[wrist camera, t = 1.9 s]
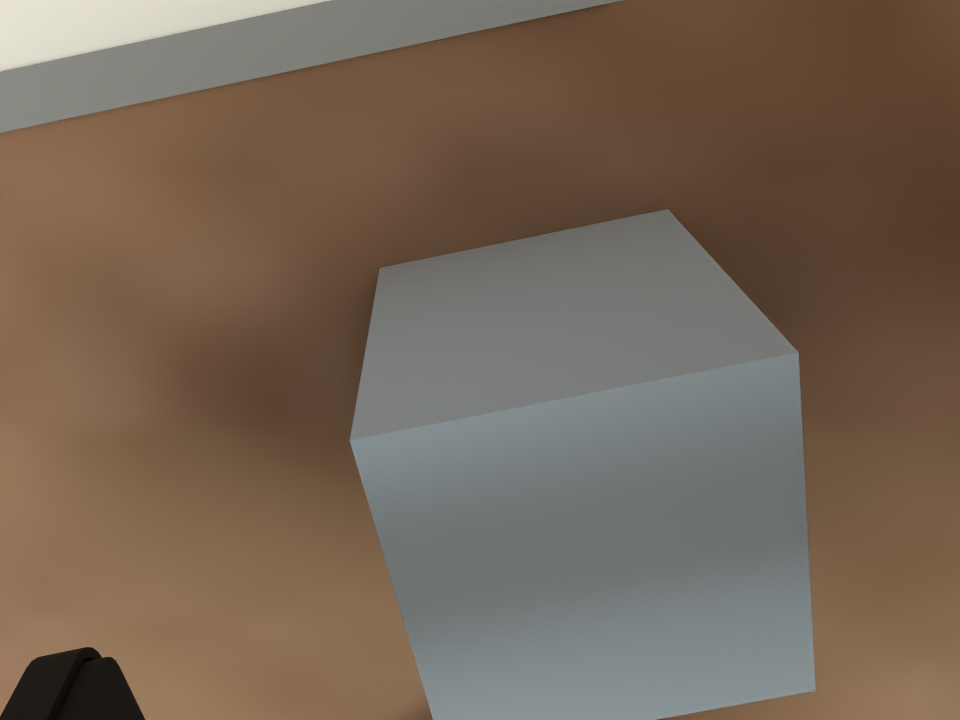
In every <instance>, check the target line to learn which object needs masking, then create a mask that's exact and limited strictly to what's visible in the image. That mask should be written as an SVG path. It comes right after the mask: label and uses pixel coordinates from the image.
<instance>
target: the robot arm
mask: <svg viewBox="0 0 960 720" xmlns="http://www.w3.org/2000/svg"><path fill="white" fill-rule="evenodd" d="M0 720H145V718H144V716H143V714H142V712H141V710H140V708H139V706H138V704H137V702H136V700H135V698H134V696H133V694H132V692H131V690H130V687H129V685H128V683H127V681H126V679H125V677H124V675H123V673H122V671H121V669H120V667H119V665H118V664H117V662H116V660H114V659H113V658H112V657H105V658H102V657H101V655H100V654H99V652H98V651H96V650H95V649H94V648H90V647H85V648H80V649H76V650H71V651H66V652H61V653H56V654H51V655H47V656H42V657H38V658H36V659H34V660H33V661H31V663H30V664H29V665H28V667H27V668H26V670H25V672H24V674H23V675H22V677H21V679H20V681H19V683H18V685H17V687H16V688H15V690H14V692H13V694H12V696H11V698H10V700H9V701H8V703H7V705H6V707H5V709H4V711H3V713H2V714H1V716H0Z"/></svg>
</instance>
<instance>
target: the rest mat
mask: <svg viewBox="0 0 960 720" xmlns="http://www.w3.org/2000/svg"><path fill="white" fill-rule="evenodd" d="M617 1H621V0H0V133H2V132H7V131H11V130H16V129H21V128H25V127H30V126H35V125H39V124H44V123H49V122H54V121H58V120H63V119H68V118H72V117H77V116H82V115H86V114H91V113H96V112H100V111H105V110H110V109H115V108H119V107H124V106H129V105H133V104H138V103H143V102H147V101H152V100H157V99H161V98H166V97H171V96H176V95H180V94H185V93H190V92H194V91H199V90H204V89H208V88H213V87H218V86H222V85H227V84H232V83H237V82H241V81H246V80H251V79H255V78H260V77H265V76H269V75H274V74H279V73H283V72H288V71H293V70H298V69H302V68H307V67H312V66H316V65H321V64H326V63H330V62H335V61H340V60H344V59H349V58H354V57H359V56H363V55H368V54H373V53H377V52H382V51H387V50H391V49H396V48H401V47H405V46H410V45H415V44H420V43H424V42H429V41H434V40H438V39H443V38H448V37H452V36H457V35H462V34H466V33H471V32H476V31H481V30H485V29H490V28H495V27H499V26H504V25H509V24H513V23H518V22H523V21H527V20H532V19H537V18H542V17H546V16H551V15H556V14H560V13H565V12H570V11H574V10H579V9H584V8H588V7H593V6H598V5H603V4H607V3H612V2H617Z"/></svg>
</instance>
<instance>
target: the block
mask: <svg viewBox="0 0 960 720" xmlns="http://www.w3.org/2000/svg"><path fill="white" fill-rule="evenodd" d="M350 444H351V447H352V450H353V454H354V457H355V460H356V464H357V467H358V470H359V474H360V477H361V480H362V484H363V487H364V490H365V494H366V497H367V500H368V504H369V507H370V510H371V514H372V517H373V520H374V524H375V527H376V530H377V534H378V537H379V540H380V544H381V547H382V551H383V554H384V557H385V561H386V564H387V567H388V571H389V574H390V577H391V581H392V584H393V587H394V591H395V594H396V597H397V601H398V604H399V607H400V611H401V614H402V617H403V621H404V624H405V627H406V631H407V634H408V637H409V641H410V644H411V647H412V651H413V654H414V657H415V661H416V664H417V667H418V671H419V674H420V677H421V681H422V684H423V687H424V691H425V694H426V697H427V701H428V704H429V707H430V711H431V714H432V718H433V720H657V719H663V718H668V717H674V716H679V715H685V714H690V713H696V712H701V711H707V710H712V709H718V708H723V707H729V706H734V705H740V704H745V703H751V702H756V701H762V700H767V699H773V698H778V697H784V696H789V695H795V694H800V693H806V692H811V691H816V687H815V667H814V648H813V628H812V608H811V588H810V568H809V549H808V529H807V509H806V489H805V469H804V450H803V430H802V410H801V390H800V370H799V352H798V351H797V350H796V349H795V348H794V347H793V346H792V345H791V344H790V342H789V341H788V340H787V339H786V338H785V337H784V336H783V335H782V334H781V333H780V331H779V330H778V329H777V328H776V327H775V326H774V325H773V324H772V323H771V322H770V320H769V319H768V318H767V317H766V316H765V315H764V314H763V313H762V312H761V311H760V310H759V308H758V307H757V306H756V305H755V304H754V303H753V302H752V301H751V300H750V299H749V297H748V296H747V295H746V294H745V293H744V292H743V291H742V290H741V289H740V288H739V286H738V285H737V284H736V283H735V282H734V281H733V280H732V279H731V278H730V277H729V276H728V274H727V273H726V272H725V271H724V270H723V269H722V268H721V267H720V266H719V265H718V263H717V262H716V261H715V260H714V259H713V258H712V257H711V256H710V255H709V254H708V252H707V251H706V250H705V249H704V248H703V247H702V246H701V245H700V244H699V243H698V242H697V240H696V239H695V238H694V237H693V236H692V235H691V234H690V233H689V232H688V231H687V229H686V228H685V227H684V226H683V225H682V224H681V223H680V222H679V221H678V220H677V218H676V217H675V216H674V215H673V214H672V213H671V212H670V211H669V210H668V209H666V210H661V211H656V212H651V213H646V214H641V215H636V216H631V217H627V218H622V219H617V220H612V221H607V222H602V223H597V224H592V225H587V226H582V227H578V228H573V229H568V230H563V231H558V232H553V233H548V234H543V235H538V236H533V237H529V238H524V239H519V240H514V241H509V242H504V243H499V244H494V245H489V246H484V247H480V248H475V249H470V250H465V251H460V252H455V253H450V254H445V255H440V256H435V257H431V258H426V259H421V260H416V261H411V262H406V263H401V264H396V265H391V266H386V267H382V268H380V269H379V275H378V281H377V286H376V292H375V298H374V304H373V309H372V315H371V321H370V327H369V332H368V338H367V344H366V350H365V355H364V361H363V367H362V373H361V378H360V384H359V390H358V396H357V401H356V407H355V413H354V419H353V424H352V430H351V436H350Z"/></svg>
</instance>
